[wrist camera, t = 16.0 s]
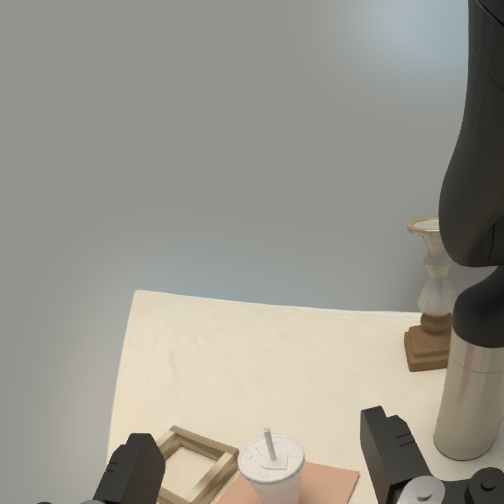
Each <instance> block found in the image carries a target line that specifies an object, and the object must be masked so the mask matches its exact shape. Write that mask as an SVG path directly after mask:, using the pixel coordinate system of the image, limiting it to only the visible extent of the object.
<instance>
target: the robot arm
mask: <svg viewBox="0 0 504 504" xmlns="http://www.w3.org/2000/svg"><path fill="white" fill-rule="evenodd" d="M468 5H469V6H468V7H469V34H468V35H469V58H468V59H469V60H468V82H467V83H468V84H467V93H466V102H465V109H464V116H463V122H462V126H461V130H460V134H459V137H458V140H457V143H456V147H455V149H454V153H453V155H452V158H451V161H450V164H449V166H448V169H447V172H446V175H445V177H444V181H443V185H442V189H441V193H440V200H439V230H440V235H441V239H442V243H443V246H444V248H445V250H446V252H447V253H448V255H449V257H450V258H451V259H452V260H453V261H454V262H456V263H457V264H459V265H462V266H467V267H487V266H498V267H497V268H496V270H495V271H494V272H493V273H492V274H491V275H489V276H488V277H487V278H486V279H484V280H483V281H481V282H479V283H477V284H475V285H473V286H471V287H470V288H468V289H466V290H465V291H463V292H462V293H461V294H460V295H459V296H458V298H457V299H456V301H455V304H454V309H453V320H452V333H451V342H450V351H449V359H448V366H447V373H446V379H445V385H444V390H443V396H442V401H441V406H440V410H439V414H438V419H437V423H436V428H435V432H434V442H435V445H436V447H437V448H438V449H439V451H440V452H441V453H443V454H444V455H446V456H447V457H449V458H453V459H456V460H469V459H473V458H477V457H479V456H481V455H483V454H484V453H485V452H487V451H488V450H489V448H490V447H491V446H492V444H493V442H494V440H495V437H496V435H497V433H498V430H499V428H500V425H501V423H502V420H503V417H504V0H468ZM360 441H361V447H362V451H363V454H364V457H365V461H366V464H367V467H368V470H369V474H370V477H371V480H372V483H373V487H374V490H375V493H376V497H377V500H378V504H504V473H503V472H502V471H501V470H500V469H497V468H493V467H487V468H483V469H481V470H479V471H477V472H476V473H475V474H474V475H473V476H472V478H471V479H466V480H459V481H442V480H439V479H438V478H436V477H434V476H433V475H432V474H431V472H430V471H429V468H428V466H427V464H426V462H425V460H424V458H423V456H422V454H421V452H420V450H419V448H418V445H417V443H415V439H414V437H413V435H411V431H410V429H409V427H408V425H407V423H406V422H405V421H404V420H402V419H401V418H400V417H398V416H397V415H394V416H391V417H386V415H385V412H384V410H383V408H382V407H381V406H377V407H373V408H369V409H365V410H361V421H360ZM165 467H166V465H165V459H164V456H163V455H162V453H161V451H160V449H159V448H158V446H157V444H156V442H155V440H154V438H153V437H152V435H151V434H148V433H131V434H130V436H129V438H128V440H127V442H126V445H122V444H121V445H120V446H119V447H118V448H117V449H116V450H115V451H114V452H113V454H112V457H111V459H110V461H109V464H108V465H107V468H106V472H104V474H103V477H102V479H101V481H100V484H99V486H98V488H97V490H96V493H95V495H94V497H93V499H92V500H88V501H85V502H83V503H81V504H156V501H157V498H158V494H159V491H160V487H161V483H162V480H163V476H164V473H165ZM38 504H51V503H49V502H41V503H38Z"/></svg>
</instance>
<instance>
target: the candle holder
mask: <svg viewBox="0 0 504 504" xmlns="http://www.w3.org/2000/svg"><path fill="white" fill-rule="evenodd" d="M407 229H408V231H409V232H410V233H412V234H415V235H420V236H422V238H423V240H424V241H425V243H426V244H427V247H428V253H427V256H426V258H425V259H424V261H423V263H424V265H425V266H426V268H427V270H428V272H429V277H428V279H427V282H426V283H425V285H424V287H423V288H422V290H421V292H420V294H419V296H418V306H419V308H420V309H421V311H422V312H424V313H423V314H422V316H421V320H420V321H421V325H420V326H413V327H410V328H409V331H408V332H405V334H404V344H405V350H406V356H407V361H408V367H409V370H410V371H412V372H414V371H425V370H434V369H441V368H447V366H448V359H449V351H450V342H451V333H452V320H453V317H452V315H451V313H450V312H452V311H453V309H454V304H455V301H456V299H457V295H456V292H455V290H454V288H453V286H452V285H451V283H450V281H449V279H448V276H447V272H448V270H449V268H450V265H451V264H452V263H453V260H452V259H451V258H450V257H449V255H448V253H447V252H446V250H445V248H444V246H443V243H442V239H441V235H440V230H439V217H429V218H422V219H417V220H414V221H411V222H409V223H408V224H407Z"/></svg>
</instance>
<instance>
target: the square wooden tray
mask: <svg viewBox="0 0 504 504" xmlns="http://www.w3.org/2000/svg"><path fill="white" fill-rule="evenodd" d="M156 444H157V446H158V448H159V449H160V451H161V453H162V455H163V456H164V459H165V461H166V460H167V459H168V458H169V457H170V456H171V455H172V454H173V453H174V452H175V451H176V450H177V449H178V448H179V447H180V446H183V447H185V448H188V449H190V450H192V451H195V452H197V453H200V454H202V455H204V456H207V457H210V458H212V459H215V460H217V462H216V464H215V465H214V466H213V467H212V468H211V469H210V470H209V471H208V472H207V474H206V475H205V476H204V477H203V478H202V479H201V480H200V481H199V482H198V483H197V484H196V486H195V487H194V488H193V489H192V490H191V491H190V492H189V493H188V494H187V495H186V496H185V497H184V498H181V497H179V496H177V495H175V494H173V493H172V492H170V491H168V490H166V489H164V488H163V487H160V491H159V494H158V498H157V501H158V502H160V503H162V504H208V503H209V502H210V501H211V500H212V499H213V497H214V496H215V495H216V494H217V493H218V492H219V490H220V489H221V488H222V487H223V486H224V485H225V483H226V482H227V481H228V480H229V479H230V477H231V476H232V475H233V474H234V472H235V471H236V470H237V469H238V456H239V450H238V449H237V448H234V447H231V446H228V445H225V444H222V443H219V442H216V441H214V440H211V439H208V438H205V437H203V436H200V435H197V434H195V433H192V432H190V431H187V430H185V429H182V428H180V427H177V426H175V425H174V426H173V427H172V428H170V429H169V430H168V431H167V432H166V433H165V434H164V435H163V436H162V437H160V438H159V439H158V440H157V441H156Z"/></svg>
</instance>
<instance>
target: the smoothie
mask: <svg viewBox="0 0 504 504" xmlns="http://www.w3.org/2000/svg"><path fill="white" fill-rule="evenodd" d="M263 431H264V435H265V436H263V437H259V438H257V439H255V440H253V441H251V442H249V443H248V444H247V445H246V446H245V447H244V448H243V449H242V450H241V452H240V453H239V456H238V467H239V471H240V474H241V475H242V477H243V478H244V479H245V480H247V481H248V482H249V483H250V484H251V485H252V487H253V488H254V490H255V491H256V493H257V494H258V496H259V497H260V499H261V500H262V502H263V503H264V504H299V496H300V483H301V470H302V469H303V467H304V463H305V455H304V452H303V448H302V446H301V445H300V444H299V443H298V442H297V441H296V440H295V439H293V438H291V437H288V436H284V435H271V433H270V429H269V428H264V429H263Z"/></svg>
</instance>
